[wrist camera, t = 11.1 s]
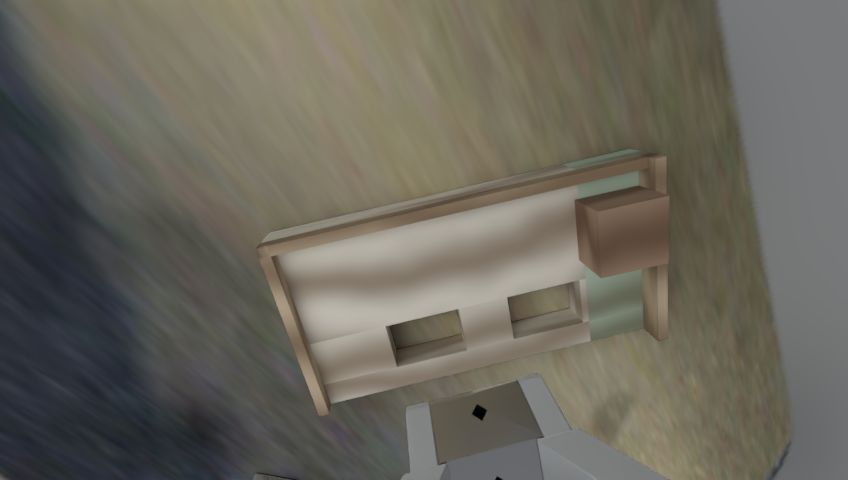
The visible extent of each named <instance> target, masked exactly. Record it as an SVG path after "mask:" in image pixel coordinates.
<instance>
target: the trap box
mask: <svg viewBox="0 0 848 480" xmlns="http://www.w3.org/2000/svg"><path fill="white" fill-rule="evenodd" d="M638 185H639V186H642V187H645V188H648V189H651V190H654V191H657V192H660V193H663V194H666V195H667V167H666V156H663V155H658V154H653V153H648V152H643V151H638V150H633V149H626V150H622V151H617V152H613V153H609V154H605V155H600V156H596V157H592V158H587V159H583V160H579V161H574V162H570V163H566V164H562V165H557V166H553V167H549V168H544V169H540V170H536V171H532V172H527V173H523V174H519V175H514V176H510V177H506V178H501V179H497V180H493V181H489V182H484V183H480V184H476V185H471V186H467V187H463V188H459V189H454V190H450V191H446V192H441V193H437V194H433V195H428V196H424V197H420V198H416V199H411V200H407V201H403V202H398V203H394V204H390V205H386V206H381V207H377V208H373V209H368V210H364V211H360V212H355V213H351V214H347V215H343V216H338V217H334V218H330V219H325V220H321V221H317V222H313V223H308V224H304V225H300V226H295V227H291V228H287V229H282V230H278V231H274V232H270V233H269V234H268V235H267V236H266V237H265V238H264V240H263V241H262V242H261V243H260V244H259V245H258V247H257V248H256V251H257V254H258V257H259V259H260V262H261V264H262V267H263V270H264V272H265V275H266V278H267V280H268V283H269V285H270V288H271V291H272V293H273V296H274V298H275V301H276V304H277V306H278V309H279V312H280V314H281V317H282V319H283V322H284V325H285V327H286V330H287V332H288V335H289V338H290V340H291V343H292V346H293V348H294V351H295V353H296V356H297V359H298V361H299V364H300V366H301V369H302V372H303V374H304V377H305V380H306V382H307V385H308V387H309V390H310V393H311V395H312V398H313V400H314V403H315V406H316V408H317V411H318V414H319V416H323V415H327V414H329V412H330V406H331V404H332V403H336V402H340V401H344V400H348V399H353V398H357V397H361V396H365V395H369V394H373V393H377V392H382V391H386V390H390V389H394V388H398V387H402V386H406V385H411V384H415V383H419V382H423V381H427V380H431V379H435V378H439V377H444V376H448V375H452V374H456V373H460V372H464V371H468V370H473V369H477V368H481V367H485V366H489V365H493V364H497V363H502V362H506V361H510V360H514V359H518V358H522V357H526V356H531V355H535V354H539V353H543V352H547V351H551V350H555V349H559V348H564V347H568V346H572V345H576V344H580V343H584V342H588V341H593V340H597V339H601V338H605V337H609V336H613V335H617V334H622V333H626V332H630V331H634V330H638V329H642V328H644V329H645V330H646V331H648V332H649V333H650V334H651V335H652V336H653V337H654V338H656V339H657V340H658V341H661V340H665V339H668V277H667V264H662V265H658V266H654V267H649V268H645V269H640V270H636V271H632V272H627V273H623V274H618V275H614V276H610V277H605V278H600V277H599V276H598V275H597V274H595V273H594V272H593V271H592V270H590V269H589V268H588V267H587V266H586V265H584V264H583V263H582V262H581V261H579V254H578V241H577V228H576V215H575V202H574V200H576V199H580V198H585V197H589V196H593V195H598V194H602V193H607V192H611V191H616V190H620V189H625V188H629V187H634V186H638ZM565 283H568V290H569V300H570V308H569V309H564V310H560V311H556V312H552V313H548V314H543V315H539V316H535V317H531V318H527V319H523V320H518V321H514V322H511V319H510V312H509V306H508V300H507V297H511V296H515V295H519V294H523V293H528V292H532V291H536V290H540V289H544V288H549V287H553V286H557V285H561V284H565ZM456 309H457V314H458V318H459V323H460V328H461V333H462V334H460V335H456V336H452V337H448V338H443V339H439V340H435V341H431V342H427V343H423V344H418V345H414V346H410V347H406V348H402V349H398V350H396V347H395V344H394V340H393V337H392V333H391V330H390V326H389V325H393V324H398V323H402V322H406V321H410V320H414V319H419V318H423V317H427V316H431V315H435V314H440V313H444V312H448V311H452V310H456Z"/></svg>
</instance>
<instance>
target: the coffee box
mask: <svg viewBox="0 0 848 480" xmlns="http://www.w3.org/2000/svg"><path fill="white" fill-rule="evenodd" d="M253 480H291V479H286V478H280V477H275V476H269V475H264V474H258V473H256V474H255V475H254V478H253Z"/></svg>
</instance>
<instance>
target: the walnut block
mask: <svg viewBox="0 0 848 480" xmlns="http://www.w3.org/2000/svg"><path fill="white" fill-rule="evenodd" d="M574 202H575V215H576V228H577V241H578V254H579V261H581V262H582V263H583V264H584V265H586V266H587V267H588V268H589V269H590V270H592V271H593V272H594V273H595V274H597V275H598V276H599V277H600V278H605V277H610V276H614V275H618V274H623V273H627V272H632V271H636V270H640V269H645V268H649V267H654V266H658V265H662V264H667V263H669V203H670V196H669V195H666V194H663V193H660V192H657V191H654V190H651V189H648V188H645V187H642V186H639V185H638V186H634V187H629V188H625V189H620V190H616V191H611V192H607V193H602V194H598V195H593V196H589V197H585V198H580V199H576V200H574Z"/></svg>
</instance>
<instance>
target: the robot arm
mask: <svg viewBox="0 0 848 480" xmlns="http://www.w3.org/2000/svg"><path fill="white" fill-rule="evenodd" d="M406 423H407V435H408V447H409V459H410V471H411V473H407V474H404V475H403V477H402V478H401V480H669V479H667V478H666V477H664V476H662V475H660V474H658V473H657V472H655V471H653V470H651V469H650V468H648V467H646V466H644V465H643V464H641V463H639V462H637V461H636V460H634V459H632V458H630V457H629V456H627V455H625V454H623V453H622V452H620V451H618V450H616V449H615V448H613V447H611V446H609V445H608V444H606V443H604V442H602V441H601V440H599V439H597V438H595V437H594V436H592V435H590V434H588V433H587V432H585V431H583V430H581V429H580V428H579V429H574V430H572V429H571V427H570V425H569V424H568V422H567V420H566V418H565V417H564V415H563V413H562V411H561V410H560V408H559V406H558V404H557V403H556V401H555V399H554V397H553V396H552V394H551V392H550V390H549V389H548V387H547V385H546V383H545V382H544V380H543V378H542V376H541V375H540V374H538V373H535V374H532V375H528V376H525V377H521V378H517V379H516V380H511V381H507V382H504V383H500V384H496V385H492V386H489V387H485V388H481V389H478V390H474V391H471V392H466V393H462V394H458V395H453V396H449V397H445V398H441V399H436V400H432V401H429V402H426V403H422V404H417V405H413V406H408V407H407V408H406Z"/></svg>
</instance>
